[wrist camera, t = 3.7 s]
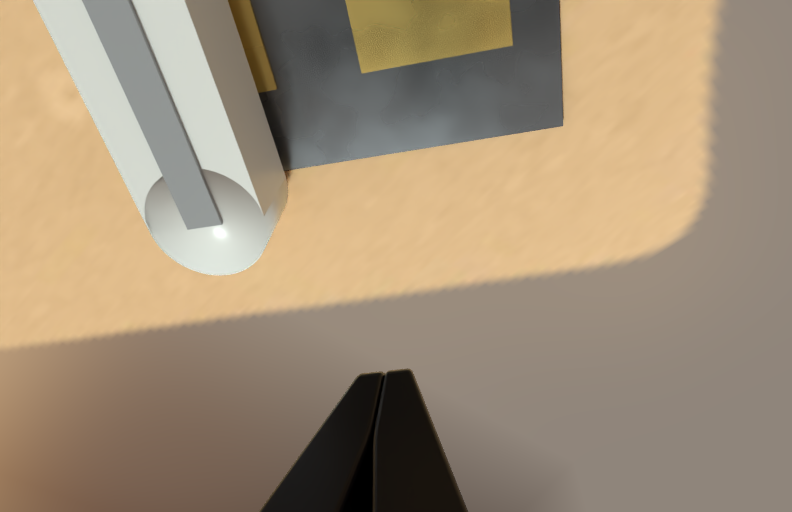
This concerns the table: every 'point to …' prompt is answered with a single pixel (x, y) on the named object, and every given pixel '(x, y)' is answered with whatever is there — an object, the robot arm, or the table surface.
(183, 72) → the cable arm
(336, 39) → the label plate
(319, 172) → the table surface
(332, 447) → the robot arm
